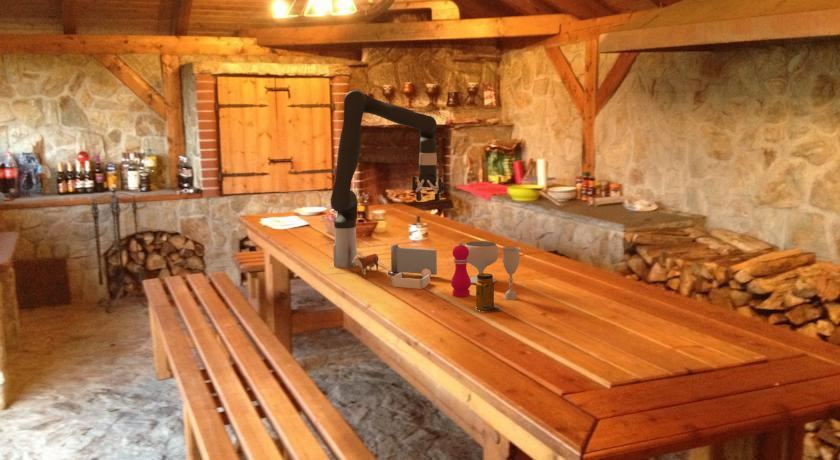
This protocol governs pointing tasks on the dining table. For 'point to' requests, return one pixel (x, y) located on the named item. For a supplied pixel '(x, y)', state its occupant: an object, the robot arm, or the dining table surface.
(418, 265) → the paddle
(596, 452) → the dining table surface
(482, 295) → the condiment
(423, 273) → the ball
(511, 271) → the chalice
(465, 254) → the pepper mill
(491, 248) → the chalice
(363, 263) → the bull figurine
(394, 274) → the lever base
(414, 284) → the pocket
